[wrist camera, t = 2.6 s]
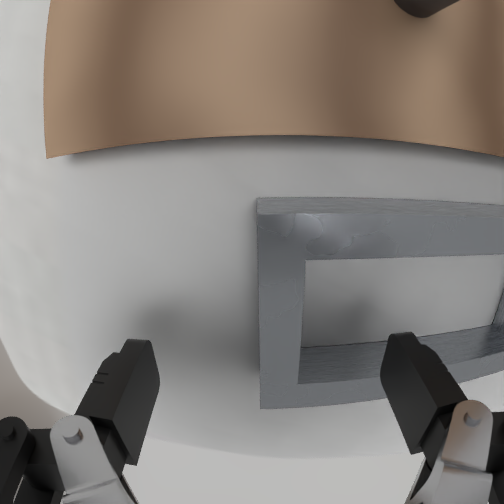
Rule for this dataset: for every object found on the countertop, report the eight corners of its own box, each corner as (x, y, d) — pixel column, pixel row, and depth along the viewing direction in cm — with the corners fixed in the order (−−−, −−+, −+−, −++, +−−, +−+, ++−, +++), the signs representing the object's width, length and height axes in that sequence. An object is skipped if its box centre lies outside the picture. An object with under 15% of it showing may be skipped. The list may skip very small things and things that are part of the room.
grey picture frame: (537, 209, 12) (566, 222, 10) (500, 341, 15) (519, 364, 13) (256, 197, 13) (257, 214, 10) (260, 372, 16) (260, 408, 13)
